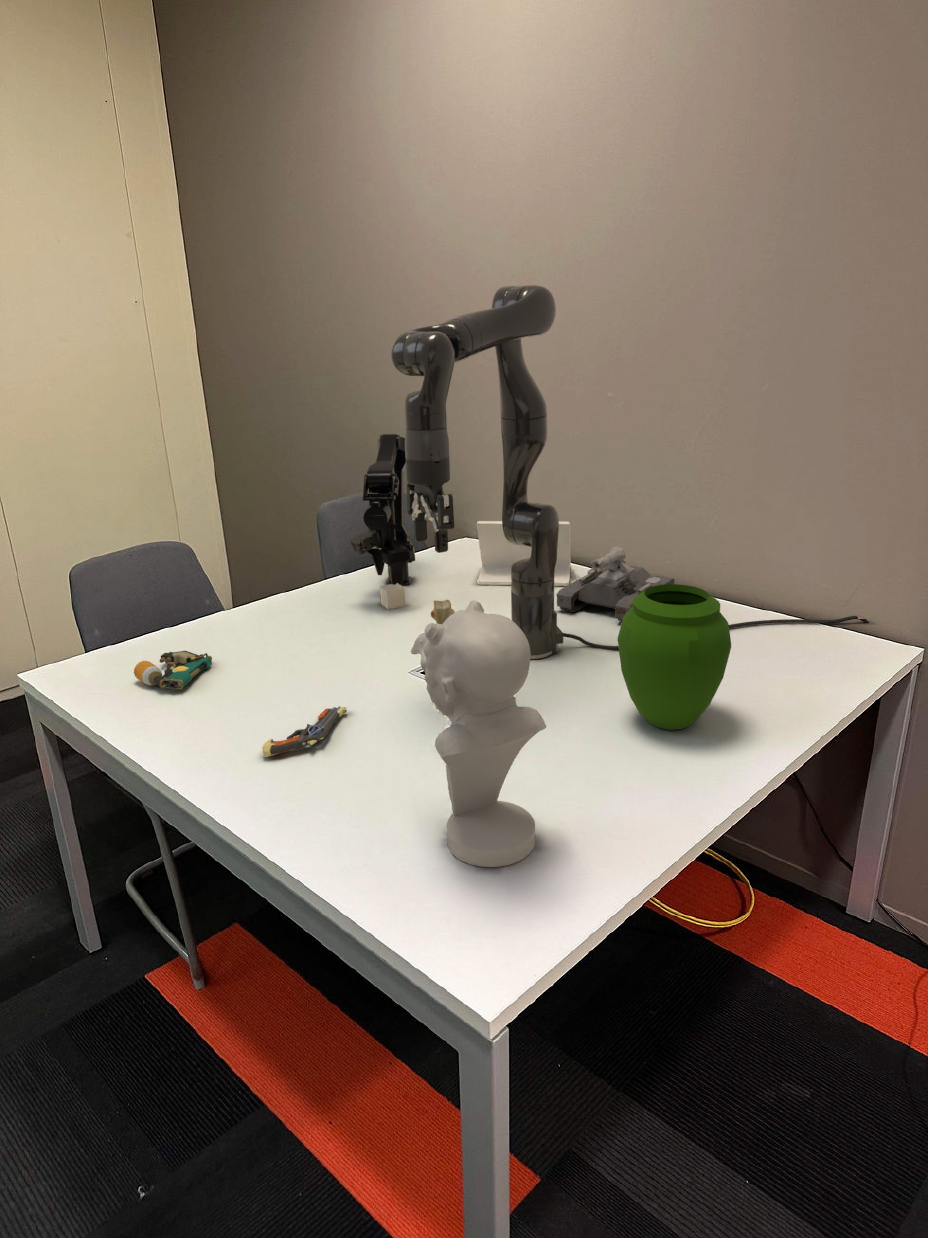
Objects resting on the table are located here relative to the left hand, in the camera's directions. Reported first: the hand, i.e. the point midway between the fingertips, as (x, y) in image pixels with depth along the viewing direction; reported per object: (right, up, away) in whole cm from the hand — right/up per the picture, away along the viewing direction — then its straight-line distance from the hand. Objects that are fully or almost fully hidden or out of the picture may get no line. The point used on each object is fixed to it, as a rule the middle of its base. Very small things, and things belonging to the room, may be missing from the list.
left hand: (387, 579), depth 217 cm
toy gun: (-9, -31, -63) cm, 71 cm away
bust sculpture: (+20, -41, -92) cm, 103 cm away
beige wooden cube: (+1, -6, +2) cm, 7 cm away
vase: (+57, -29, -61) cm, 89 cm away
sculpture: (+16, -21, -38) cm, 46 cm away
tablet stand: (+37, +2, +22) cm, 43 cm away
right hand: (+14, +3, -66) cm, 67 cm away
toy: (+58, -7, -3) cm, 58 cm away
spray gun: (-41, -22, -36) cm, 59 cm away
